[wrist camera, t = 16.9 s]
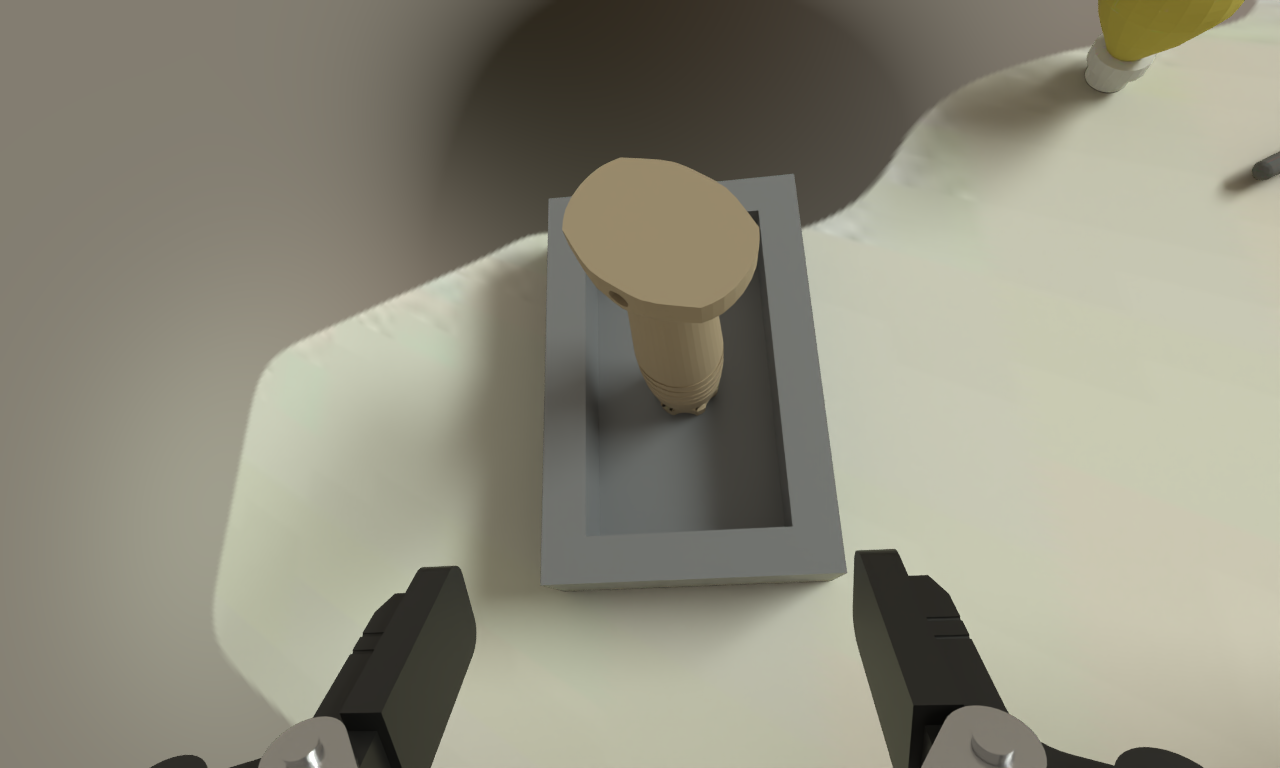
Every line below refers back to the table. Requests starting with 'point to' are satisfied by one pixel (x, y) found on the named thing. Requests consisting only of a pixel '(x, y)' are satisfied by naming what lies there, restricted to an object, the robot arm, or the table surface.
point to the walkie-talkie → (1267, 167)
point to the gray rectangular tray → (689, 433)
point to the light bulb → (1146, 35)
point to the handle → (666, 267)
